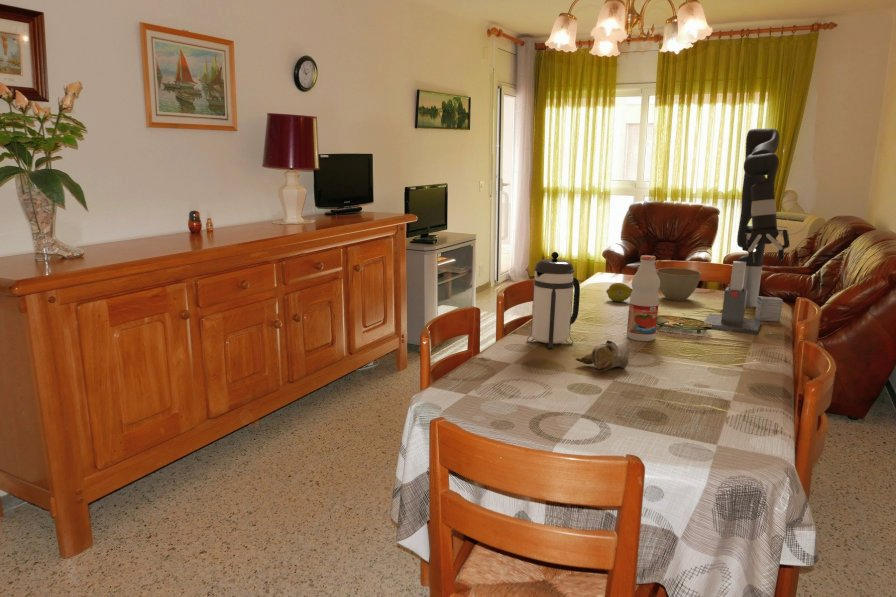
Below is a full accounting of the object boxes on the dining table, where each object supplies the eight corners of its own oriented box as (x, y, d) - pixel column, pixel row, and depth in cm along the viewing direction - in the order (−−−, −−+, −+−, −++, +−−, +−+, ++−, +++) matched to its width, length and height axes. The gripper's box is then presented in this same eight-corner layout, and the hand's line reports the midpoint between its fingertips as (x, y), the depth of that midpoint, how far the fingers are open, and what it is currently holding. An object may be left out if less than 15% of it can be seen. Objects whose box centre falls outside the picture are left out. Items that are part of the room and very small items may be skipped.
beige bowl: (645, 295, 289) (648, 268, 286) (680, 293, 294) (683, 267, 292) (670, 304, 272) (673, 275, 269) (706, 302, 277) (710, 274, 275)
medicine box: (775, 319, 251) (778, 297, 249) (780, 322, 247) (783, 299, 245) (754, 318, 252) (757, 296, 250) (758, 321, 248) (761, 298, 246)
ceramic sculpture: (640, 342, 184) (594, 349, 179) (639, 371, 186) (594, 379, 181) (618, 332, 193) (574, 339, 188) (617, 360, 195) (574, 367, 190)
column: (725, 321, 239) (732, 262, 234) (726, 318, 242) (733, 260, 238) (738, 322, 237) (745, 263, 232) (739, 320, 240) (746, 262, 236)
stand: (702, 327, 237) (706, 290, 234) (709, 317, 252) (713, 282, 249) (756, 334, 228) (761, 297, 225) (760, 323, 243) (765, 288, 240)
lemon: (603, 301, 274) (605, 283, 272) (607, 298, 281) (609, 280, 279) (629, 304, 269) (631, 286, 268) (633, 301, 276) (635, 282, 275)
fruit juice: (644, 333, 226) (652, 253, 220) (661, 340, 217) (669, 258, 211) (621, 335, 223) (627, 254, 217) (636, 342, 215) (644, 258, 209)
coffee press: (576, 352, 203) (582, 256, 196) (524, 347, 206) (529, 254, 199) (576, 337, 219) (582, 249, 213) (529, 333, 223) (533, 246, 216)
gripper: (789, 212, 218) (791, 260, 219) (743, 216, 227) (746, 263, 227) (785, 211, 212) (787, 261, 213) (738, 216, 221) (741, 264, 221)
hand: (766, 262), depth 220 cm, fingers open, 8 cm apart
